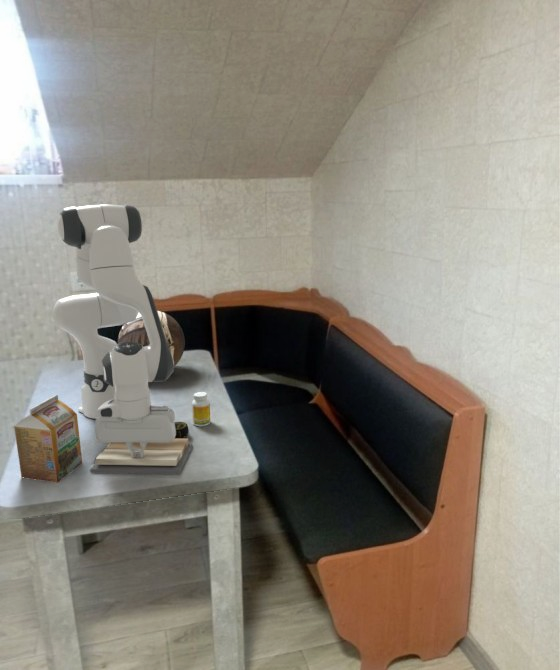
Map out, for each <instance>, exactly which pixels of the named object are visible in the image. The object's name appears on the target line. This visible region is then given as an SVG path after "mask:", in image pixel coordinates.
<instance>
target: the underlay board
mask: <svg viewBox="0 0 560 670" xmlns="http://www.w3.org/2000/svg"><path fill="white" fill-rule="evenodd" d="M192 449H193V442H189V444H188V446H187V448H186V450H185V452H184V454H183V455H182V457H181V459H180V460H179V462H178V464H177V465H176V466H161V465H98V464H96V462H95V463H94V464H92V467H91V468H90V473H92V474H143V475H145V474H146V475H147V474H148V475H180V473H181V472H182V470H183V468H184V465H185V463H186V461H187V459H188V457H189V455H190V453H191V451H192Z"/></svg>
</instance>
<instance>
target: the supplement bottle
mask: <svg viewBox="0 0 560 670" xmlns="http://www.w3.org/2000/svg"><path fill="white" fill-rule="evenodd" d="M191 410H192V411H191V412H192V424H193V425H194V426H196V427H207V426H208V425H210V424H211V402H210V400H209V399H208V393H207V392H204V391H198V392H195V393H193V400H192V402H191Z"/></svg>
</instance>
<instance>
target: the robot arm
mask: <svg viewBox="0 0 560 670" xmlns="http://www.w3.org/2000/svg"><path fill="white" fill-rule="evenodd" d="M57 231H58V233H59V236H60V237H61V239H62V241H63V242H64V243H65V244H66V245H68V246H69V247H70V246H71V247H74V248H75V256H76V257H75V258H76V276H77V278H78V280H79V281H80V282H81V283H82V284H83V285H85V286H86V287H88V288H91V289H94V291H95V292H92V293H83V294H72V295H68V296H66V297H62V298H59V299H58V300H56V302H55V304H54V306H53V310H52V317H53V320H54V323H55V324H56V325H57V327H58V328H59V329H61V330H62V331H65V332H66V333H67V334H69V335H70V336H72V337H73V338H74V340H75V341H76V342H77V344H78V345H79V348H80V349H81V350H80V351H81V355H82V360H83V366H84V370H83V380H84V383H85V384H84V385H82V386H81V406H79V407H78V412H79V413H82V414H83V415H84V416H85V417H87V418H89V419H95V423H94V433H95V434H94V435H95V439H96V440H97V442H98V443H111V442H126V447H127V448H128V449H129V451H130V452H131V457H132V458H143V457H144V449H145V447H146V445H147V443H170V442H172V441H173V439H174V438H175V436H176V429H175V424H174V422H175V419H176V416H175V411H174V410H173V409H172V408H170V407H169V406H165V405H164V406H159V405H158V406H156V405H153V406H152V399H151V398H152V397H151V390H150V388H149V383H161V382H165V381H167V379H169V378H170V377H171V375H172V374H173V373H174V371H175V366H174V360H173V357H172V354H171V352H170V349H169V347H168V344H167V341H166V338H165V335H164V331H163V328H162V325H161V321H160V318H159V315H158V312H157V311H158V309H157V306H156V303H155V299H154V297H153V295H152V292H151V290H150V289H149V287H148V286H146V285H144V284H143V283H142V282H141V281H140V279H139V278H138V276H137V274H136V271H135V265H134V257H133V254H132V248H131V243H135V242H137V241H138V240H139V239H140V238H141V235H142V231H143V220H142V216H141V214H140V211H139V210H138V209H137V207H135V206H133V205H128V204H122V205H121V204H120V205H118V204H105V203H104V204H103V203H101V204H93V205H83V206H75V205H73V206H69V207H65V208H63V209H62V210H61V211H60V213H59V217H58V220H57ZM138 313H140V315H141V316H142V318H143V321H144V325H145V328H146V331H147V335H148V338H149V341H150V344H149V345H148V346H145V347H143V346H142V345H141V344H140V343H137V342H122V343H119V344H118V342H116V341H115V340H113V339H111V338H108V337H107V336H106V337H105V336H102V335H100V334H99V332H98V329H102V328H108V327H109V328H110V327H115V326H123V325H124V324H126V323H129V322H132V321H134V320H135V319H136V317H137V315H138ZM134 442H140V446H142V448H141V449H135V447H134V446H133V443H134Z"/></svg>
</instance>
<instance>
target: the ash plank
mask: <svg viewBox="0 0 560 670" xmlns="http://www.w3.org/2000/svg"><path fill="white" fill-rule="evenodd" d="M181 457H182V450H144V457H143V458H132V457H131V452H130V451H129V450H126V449H106V448H105V449H103V451H101V452H100V454H98V456H97V457H95V463H96V464H98V465H161V466H176V465H177V464H178V462H179V460H180V459H181Z"/></svg>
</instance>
